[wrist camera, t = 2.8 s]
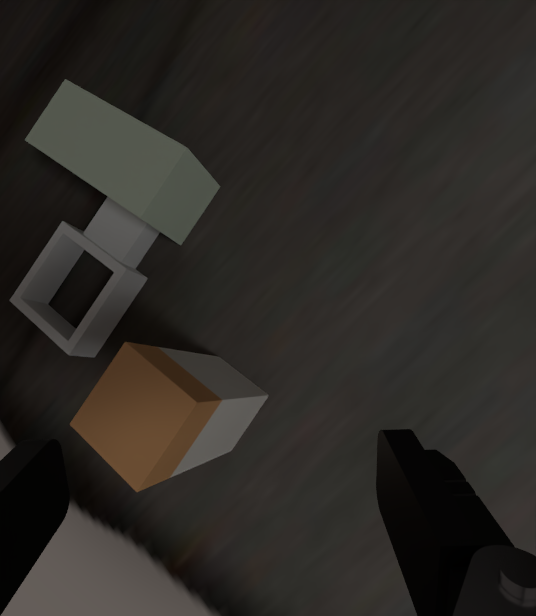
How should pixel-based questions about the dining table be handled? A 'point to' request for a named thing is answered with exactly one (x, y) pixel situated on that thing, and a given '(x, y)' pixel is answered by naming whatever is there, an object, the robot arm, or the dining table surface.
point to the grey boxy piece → (109, 209)
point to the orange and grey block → (165, 412)
